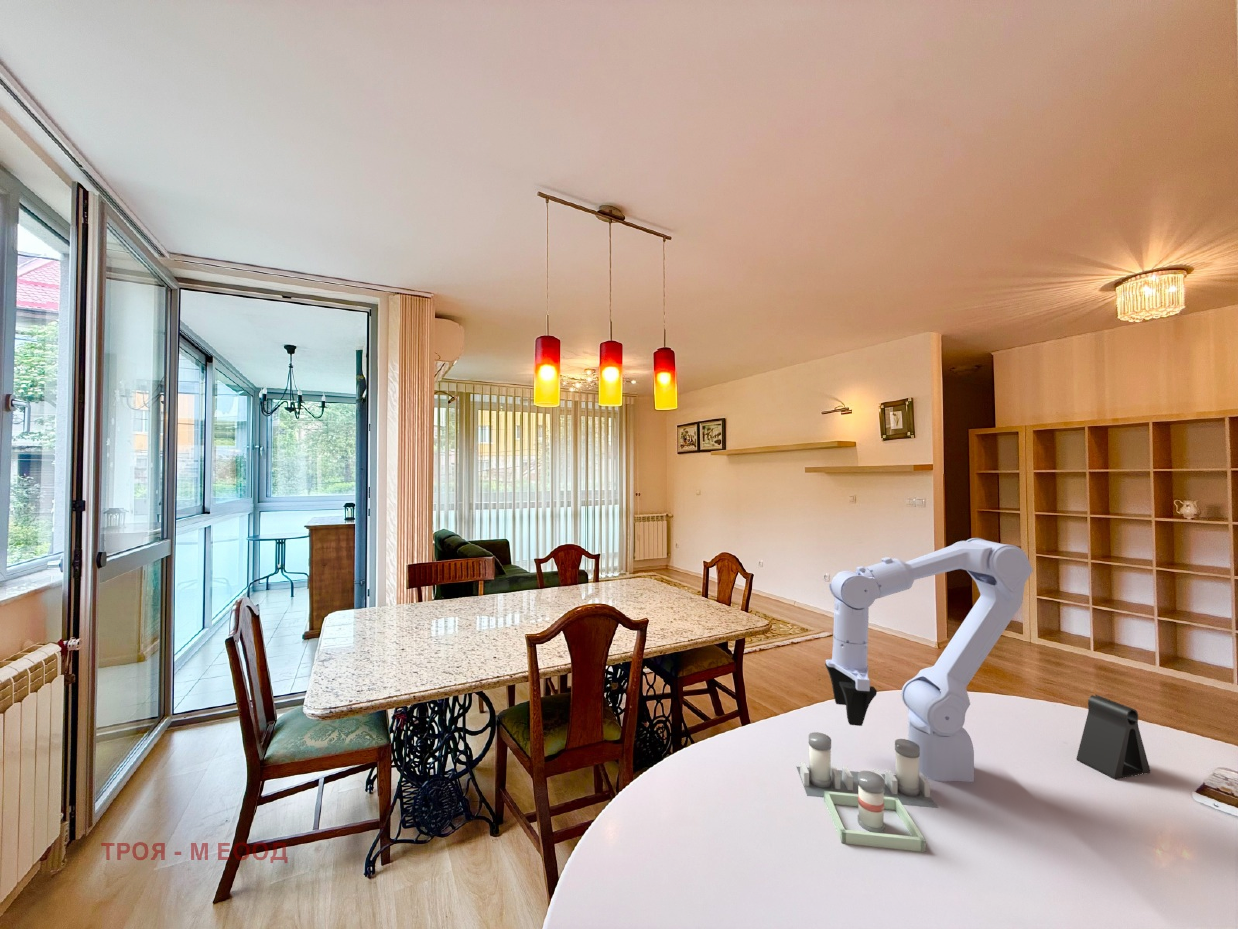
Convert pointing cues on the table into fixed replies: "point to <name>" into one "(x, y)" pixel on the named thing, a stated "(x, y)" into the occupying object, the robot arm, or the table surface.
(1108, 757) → the phone stand
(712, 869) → the table surface
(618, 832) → the table surface
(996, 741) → the table surface
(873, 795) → the marked fuse
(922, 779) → the clip board
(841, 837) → the tray
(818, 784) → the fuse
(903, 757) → the fuse
